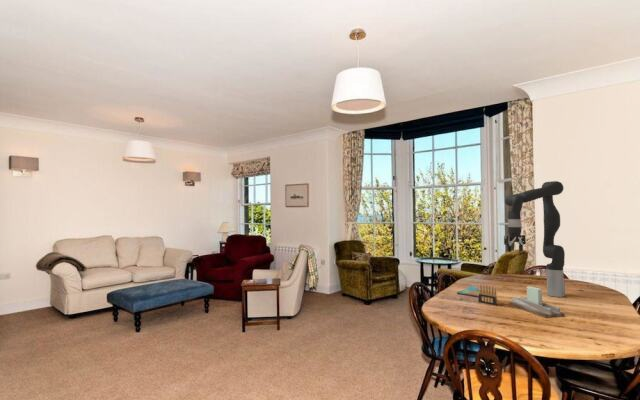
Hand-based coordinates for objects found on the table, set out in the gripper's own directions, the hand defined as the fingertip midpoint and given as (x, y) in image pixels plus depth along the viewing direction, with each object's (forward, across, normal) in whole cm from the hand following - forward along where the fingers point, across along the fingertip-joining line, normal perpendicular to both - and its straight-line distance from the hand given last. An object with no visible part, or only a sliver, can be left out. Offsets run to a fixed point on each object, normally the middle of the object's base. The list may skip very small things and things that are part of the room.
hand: (515, 251), depth 225 cm
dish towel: (+31, -15, +20) cm, 40 cm away
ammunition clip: (+30, -25, -5) cm, 40 cm away
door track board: (+30, -9, -24) cm, 40 cm away
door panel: (+29, -9, -24) cm, 38 cm away
